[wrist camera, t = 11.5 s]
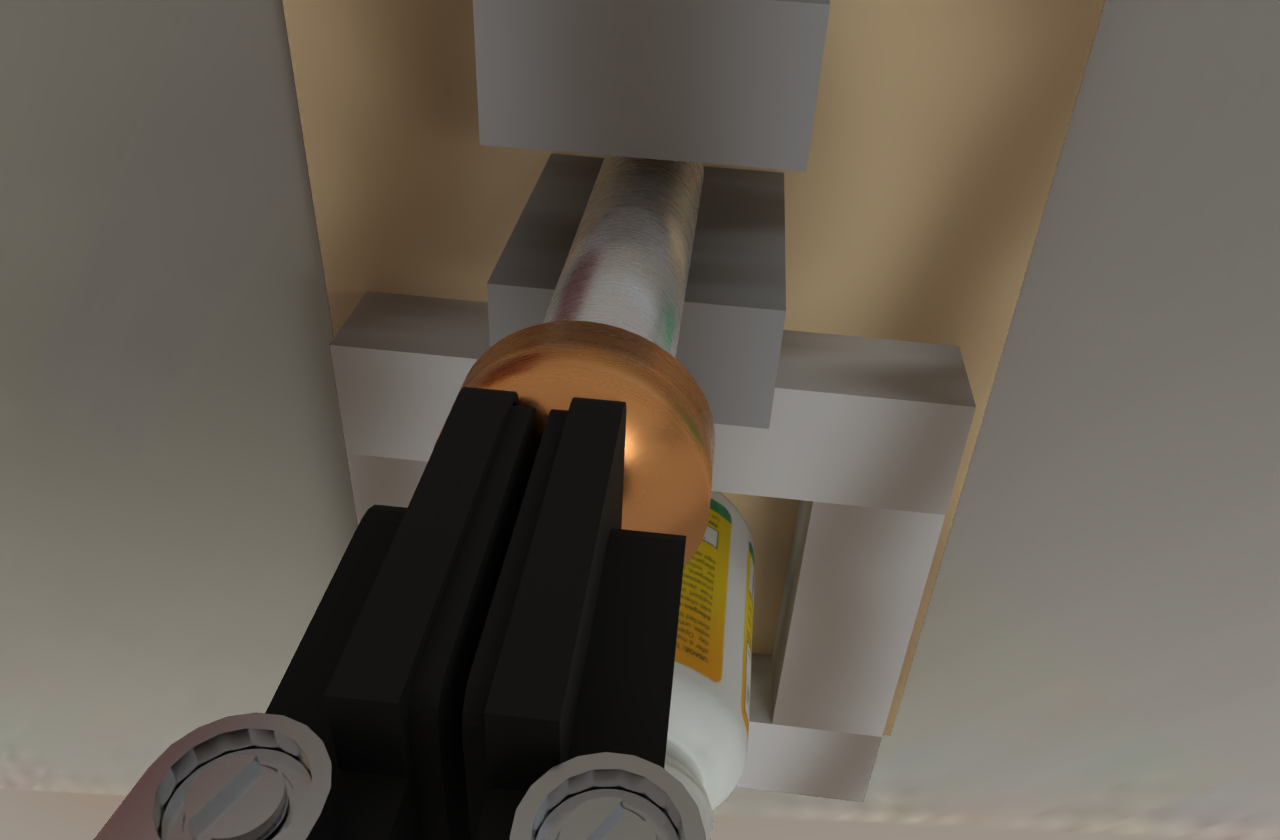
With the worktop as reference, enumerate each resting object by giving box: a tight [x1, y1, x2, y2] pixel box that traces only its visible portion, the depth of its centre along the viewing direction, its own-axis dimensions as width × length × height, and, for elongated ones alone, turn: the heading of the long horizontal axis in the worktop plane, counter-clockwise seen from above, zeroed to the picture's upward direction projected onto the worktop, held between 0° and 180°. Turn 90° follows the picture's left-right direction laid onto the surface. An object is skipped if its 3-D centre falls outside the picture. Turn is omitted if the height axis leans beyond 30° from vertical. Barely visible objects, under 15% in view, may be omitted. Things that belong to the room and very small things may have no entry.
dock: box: [282, 0, 1105, 802], centre depth 23 cm, size 16×23×7 cm
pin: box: [432, 155, 715, 566], centre depth 15 cm, size 3×3×9 cm
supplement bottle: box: [664, 491, 755, 840], centre depth 24 cm, size 5×5×10 cm
